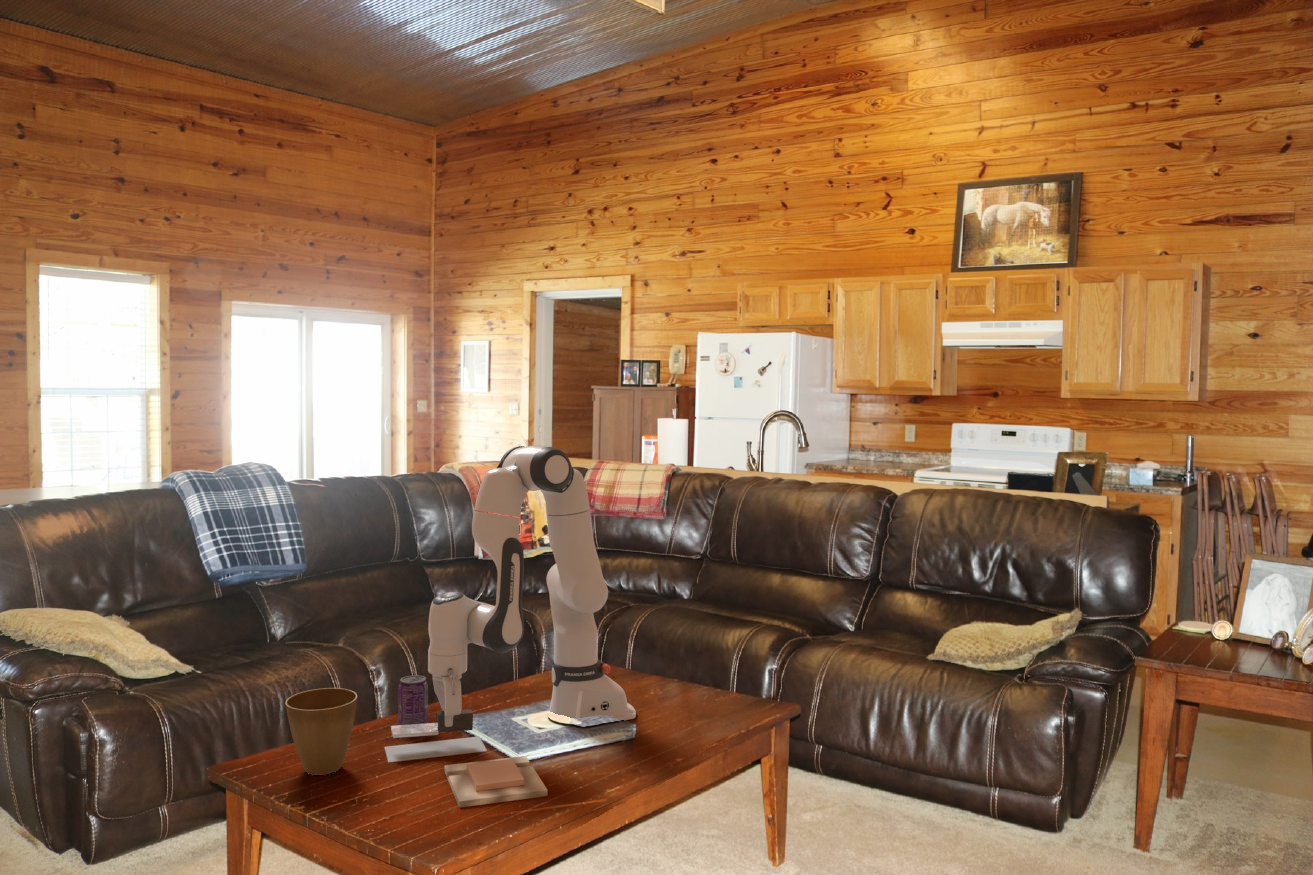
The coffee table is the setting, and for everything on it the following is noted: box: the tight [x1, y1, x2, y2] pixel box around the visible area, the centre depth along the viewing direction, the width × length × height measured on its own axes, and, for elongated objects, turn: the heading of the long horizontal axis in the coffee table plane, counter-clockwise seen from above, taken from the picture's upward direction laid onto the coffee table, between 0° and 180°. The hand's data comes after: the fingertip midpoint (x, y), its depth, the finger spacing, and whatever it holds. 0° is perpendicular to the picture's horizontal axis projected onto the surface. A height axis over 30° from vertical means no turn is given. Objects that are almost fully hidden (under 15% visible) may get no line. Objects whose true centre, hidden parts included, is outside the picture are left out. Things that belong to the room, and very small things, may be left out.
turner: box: [390, 708, 474, 739], centre depth 233 cm, size 18×6×4 cm, turn 110°
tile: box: [466, 759, 524, 791], centre depth 214 cm, size 10×1×12 cm
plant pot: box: [284, 687, 358, 775], centre depth 221 cm, size 15×15×16 cm
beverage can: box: [397, 674, 429, 725], centre depth 249 cm, size 7×7×12 cm
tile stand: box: [444, 755, 548, 808], centre depth 214 cm, size 18×20×2 cm
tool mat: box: [384, 736, 488, 765], centre depth 234 cm, size 22×10×1 cm, turn 110°
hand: (447, 722), depth 235 cm, fingers closed on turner, 3 cm apart
